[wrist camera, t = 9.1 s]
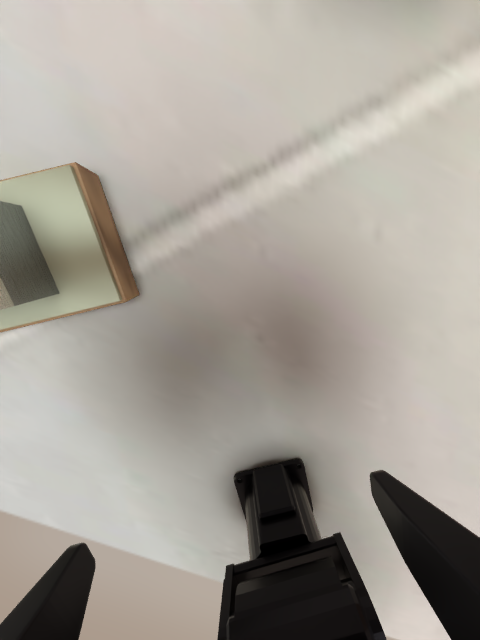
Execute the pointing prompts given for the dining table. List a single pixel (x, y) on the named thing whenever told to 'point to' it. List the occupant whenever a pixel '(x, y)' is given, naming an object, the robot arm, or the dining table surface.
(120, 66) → the dining table surface
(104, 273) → the riser
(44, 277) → the block
